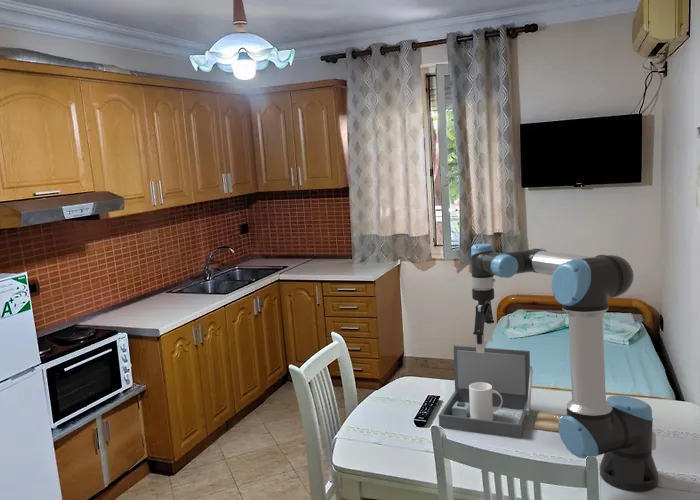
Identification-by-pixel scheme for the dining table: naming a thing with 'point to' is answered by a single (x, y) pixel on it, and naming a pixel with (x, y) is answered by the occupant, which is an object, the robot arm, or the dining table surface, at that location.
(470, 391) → the mug
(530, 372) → the case
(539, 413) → the mat
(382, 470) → the dining table surface
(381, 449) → the dining table surface
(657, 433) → the dining table surface
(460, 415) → the block
